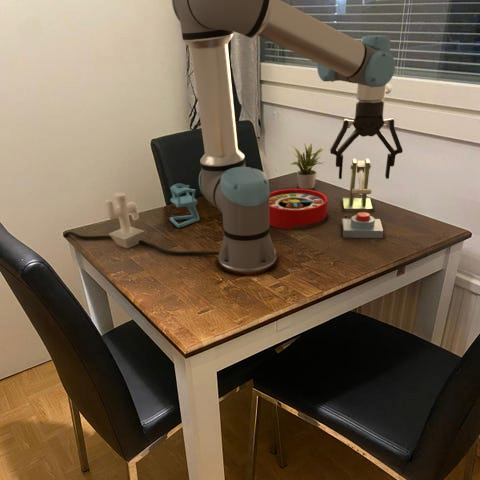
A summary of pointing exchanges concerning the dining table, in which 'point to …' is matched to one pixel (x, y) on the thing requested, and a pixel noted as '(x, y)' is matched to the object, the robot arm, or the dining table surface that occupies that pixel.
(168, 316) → the dining table surface
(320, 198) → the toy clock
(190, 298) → the dining table surface
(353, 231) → the button box
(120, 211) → the figurine
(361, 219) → the button
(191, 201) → the chair
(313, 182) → the house plant
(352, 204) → the frame stand
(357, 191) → the lever
